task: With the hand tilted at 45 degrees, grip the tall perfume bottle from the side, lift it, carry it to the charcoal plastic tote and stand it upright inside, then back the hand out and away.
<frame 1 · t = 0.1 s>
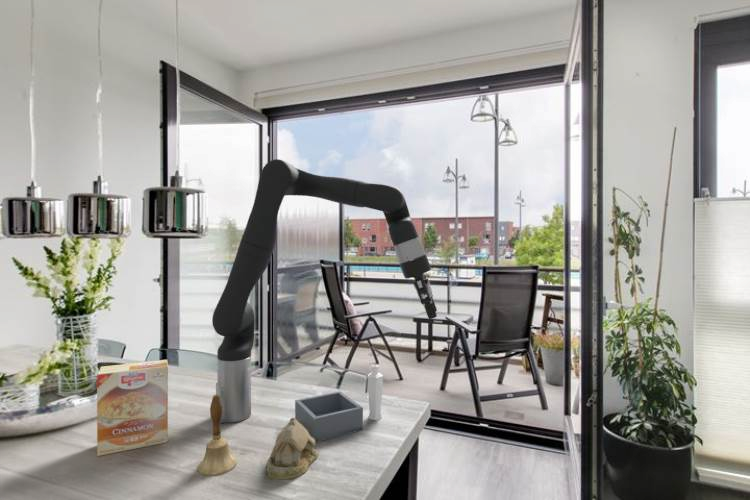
hand: (433, 315, 109), 31 cm above the table, tool tilted 20°, fingers open, 8 cm apart
coffeecake box: (134, 444, 103), on the table
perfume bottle: (375, 418, 119), on the table
hand bell: (217, 466, 93), on the table
ceramic model: (292, 463, 95), on the table
tote: (328, 425, 113), on the table
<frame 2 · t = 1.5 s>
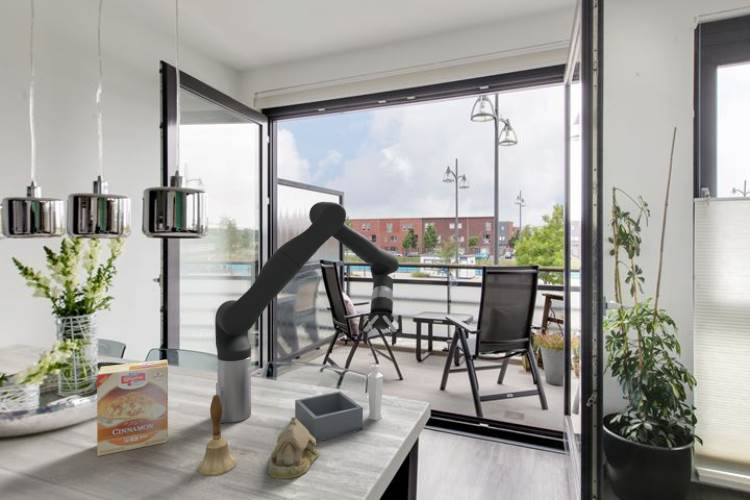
hand: (379, 344, 130), 18 cm above the table, tool tilted 45°, fingers open, 8 cm apart
nothing on the table moved.
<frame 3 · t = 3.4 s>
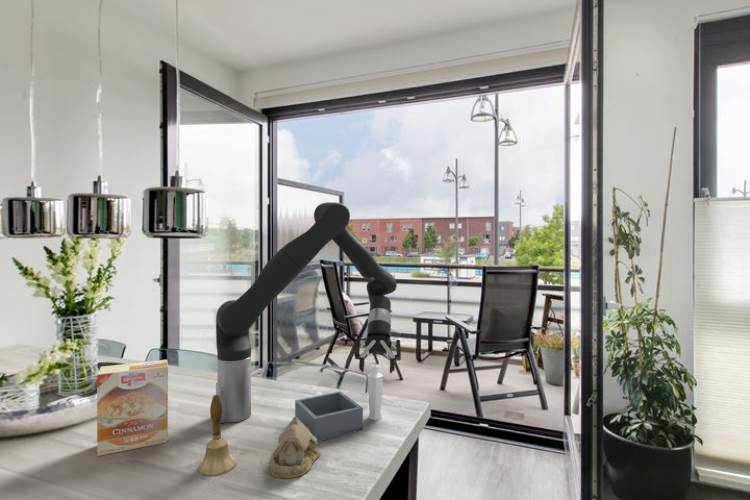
hand: (376, 371, 122), 12 cm above the table, tool tilted 45°, fingers open, 8 cm apart
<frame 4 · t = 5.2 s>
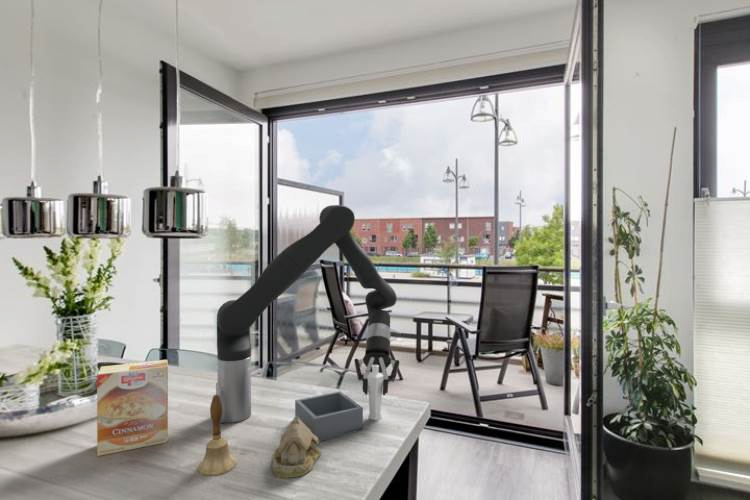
hand: (375, 393, 117), 8 cm above the table, tool tilted 45°, fingers closed on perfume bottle, 4 cm apart
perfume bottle: (375, 418, 119), on the table, touching gripper
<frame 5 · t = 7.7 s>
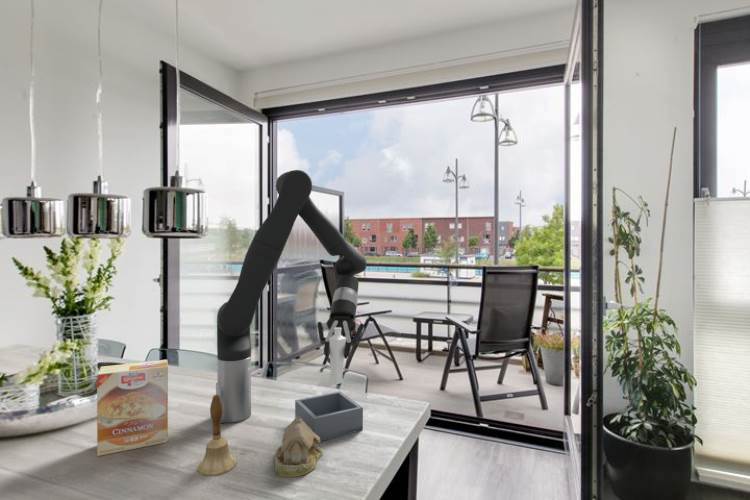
hand: (336, 356, 112), 19 cm above the table, tool tilted 45°, fingers closed on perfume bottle, 4 cm apart
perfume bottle: (337, 382, 114), point 12 cm above the table, touching gripper
when the fingers open (10 cm above the table, at t = 10.3 s): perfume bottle drops 1 cm, resting on tote.
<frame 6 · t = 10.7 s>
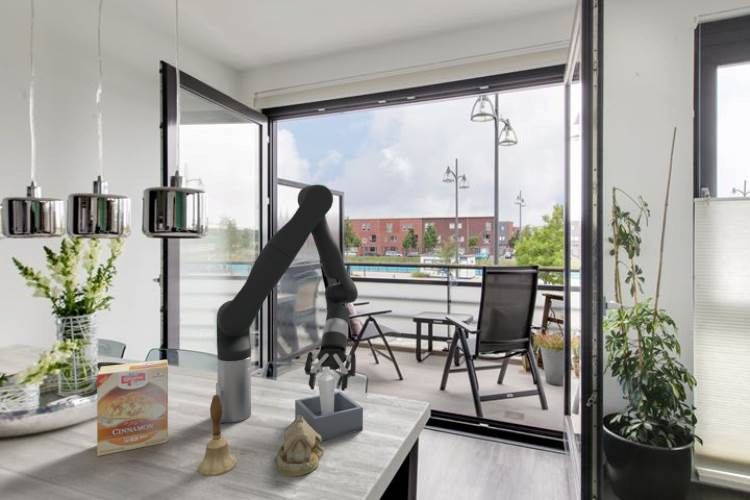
hand: (327, 388, 112), 11 cm above the table, tool tilted 45°, fingers open, 8 cm apart
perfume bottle: (328, 422, 113), point 1 cm above the table, touching tote
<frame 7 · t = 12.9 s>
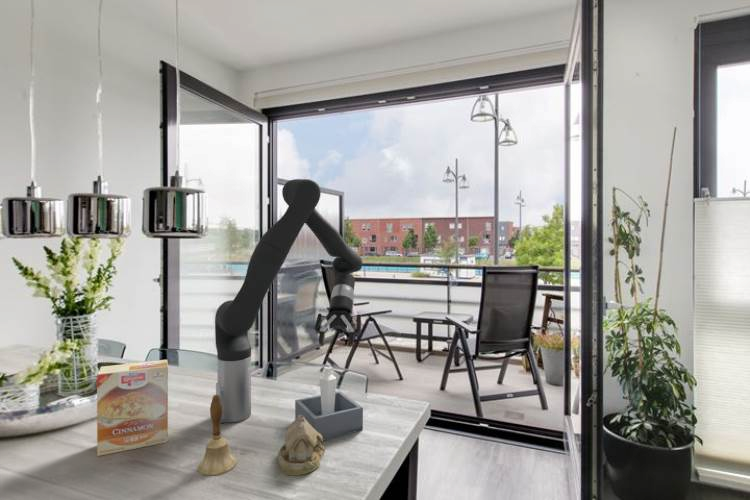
hand: (335, 344, 124), 20 cm above the table, tool tilted 45°, fingers open, 8 cm apart
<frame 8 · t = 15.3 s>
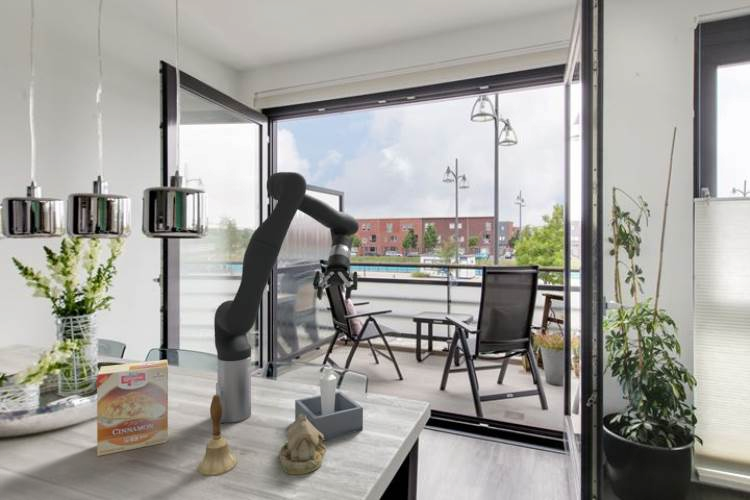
hand: (333, 298, 130), 33 cm above the table, tool tilted 45°, fingers open, 8 cm apart
at the end: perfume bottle inside the target area on the tote (0.1 cm from its centre), point 0.8 cm above the tote's base; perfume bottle tilted 0°; the gripper is holding nothing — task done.
